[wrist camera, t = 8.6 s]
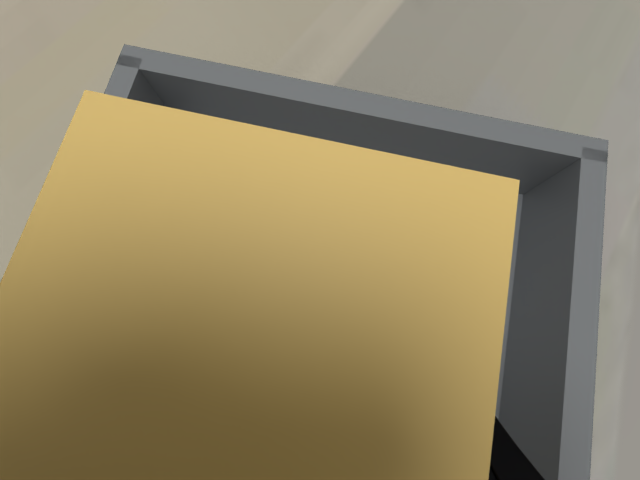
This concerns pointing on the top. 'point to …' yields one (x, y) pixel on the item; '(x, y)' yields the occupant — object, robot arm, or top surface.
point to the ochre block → (250, 307)
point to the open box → (469, 153)
